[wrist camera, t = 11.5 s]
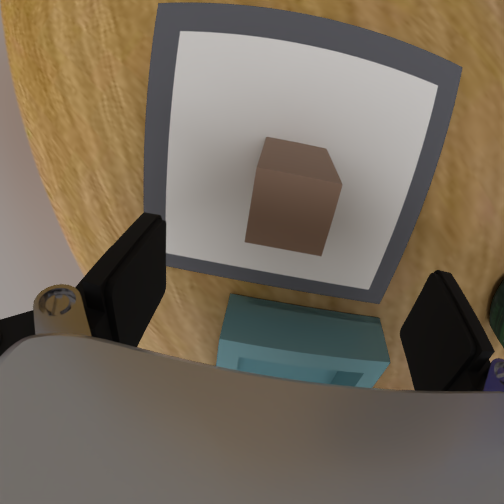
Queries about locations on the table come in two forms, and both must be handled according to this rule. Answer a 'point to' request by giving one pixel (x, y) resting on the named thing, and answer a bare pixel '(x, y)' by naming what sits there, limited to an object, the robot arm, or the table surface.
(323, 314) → the square tray
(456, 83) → the mat
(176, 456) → the robot arm
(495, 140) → the table surface
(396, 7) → the table surface
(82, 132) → the table surface
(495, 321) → the coffee jar
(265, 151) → the lid
